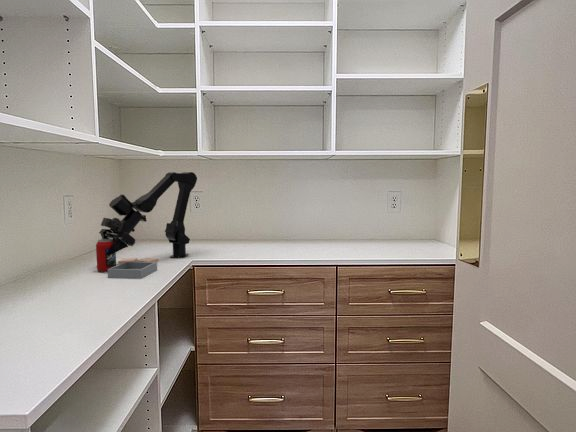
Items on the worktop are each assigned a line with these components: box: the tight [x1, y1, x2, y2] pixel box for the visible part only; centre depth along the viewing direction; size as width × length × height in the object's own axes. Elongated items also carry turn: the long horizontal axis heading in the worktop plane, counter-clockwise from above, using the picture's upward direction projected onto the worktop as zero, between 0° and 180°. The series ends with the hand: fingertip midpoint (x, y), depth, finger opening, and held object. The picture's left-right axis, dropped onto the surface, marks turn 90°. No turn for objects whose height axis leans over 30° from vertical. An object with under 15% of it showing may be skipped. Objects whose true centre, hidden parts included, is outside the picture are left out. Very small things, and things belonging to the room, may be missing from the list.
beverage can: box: [95, 238, 117, 273], centre depth 143 cm, size 7×7×12 cm
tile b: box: [137, 257, 159, 263], centre depth 158 cm, size 6×6×1 cm
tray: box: [107, 261, 158, 280], centre depth 139 cm, size 13×13×3 cm
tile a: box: [117, 257, 139, 265], centre depth 158 cm, size 6×6×1 cm
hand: (102, 254), depth 142 cm, fingers closed on beverage can, 7 cm apart
